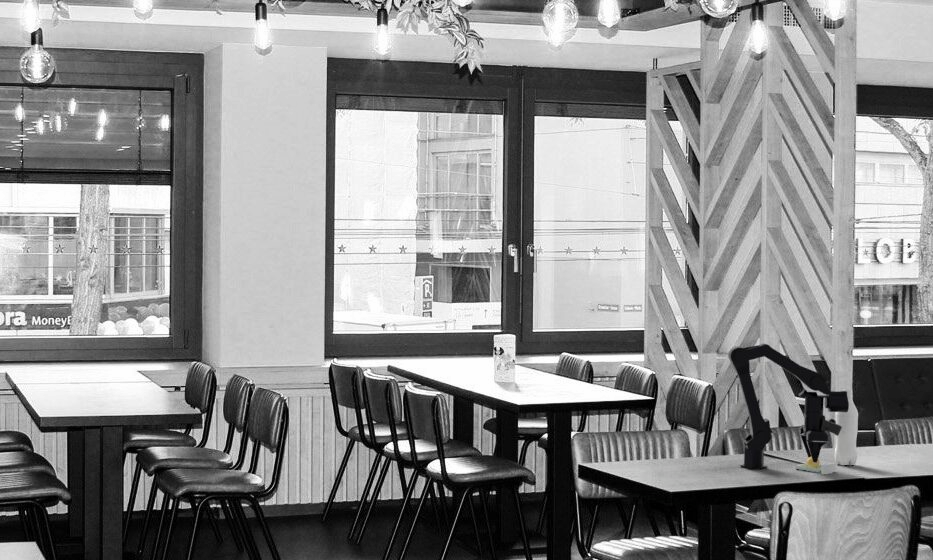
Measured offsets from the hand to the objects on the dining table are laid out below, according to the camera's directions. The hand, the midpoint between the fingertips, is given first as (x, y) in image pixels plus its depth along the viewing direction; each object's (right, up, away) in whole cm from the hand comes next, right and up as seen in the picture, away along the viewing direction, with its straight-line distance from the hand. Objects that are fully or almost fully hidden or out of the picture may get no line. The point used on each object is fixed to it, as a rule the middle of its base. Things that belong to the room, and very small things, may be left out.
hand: (812, 460), depth 375 cm
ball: (0, -1, -1) cm, 1 cm away
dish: (0, -3, 0) cm, 3 cm away
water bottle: (+15, -4, +12) cm, 19 cm away
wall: (+3, -3, -6) cm, 7 cm away
